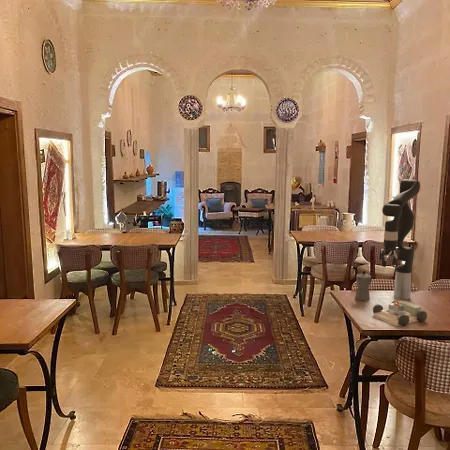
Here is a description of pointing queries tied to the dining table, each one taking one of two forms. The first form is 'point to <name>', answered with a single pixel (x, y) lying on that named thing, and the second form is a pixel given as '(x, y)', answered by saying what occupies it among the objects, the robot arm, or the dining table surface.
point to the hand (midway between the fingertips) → (389, 265)
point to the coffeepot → (363, 286)
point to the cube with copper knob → (396, 309)
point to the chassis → (409, 315)
